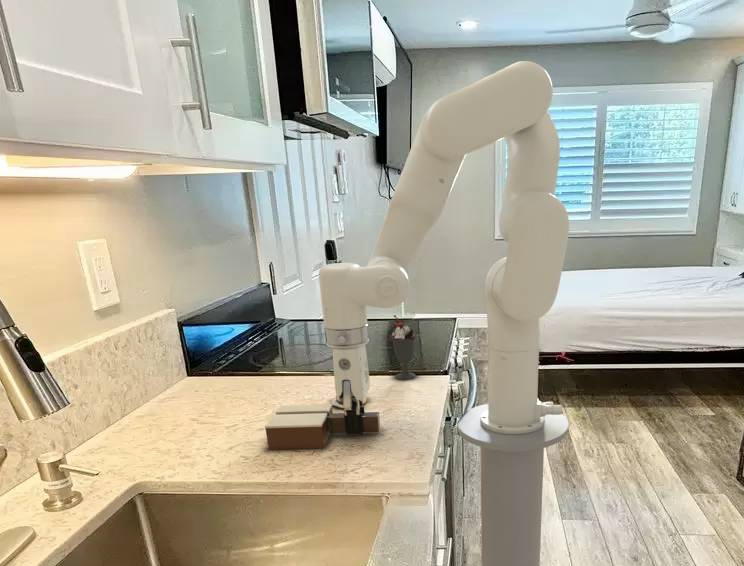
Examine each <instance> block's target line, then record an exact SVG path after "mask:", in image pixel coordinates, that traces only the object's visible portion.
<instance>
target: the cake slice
mask: <svg viewBox="0 0 744 566" xmlns="http://www.w3.org/2000/svg"><path fill="white" fill-rule="evenodd" d="M279 405H280V404H279ZM311 413H327V416H331V414H332V413H334V409H333V405H332V404H331V403H317V404H310V403H309V404H282V405H280V406H279V407H278V408H277V409H276V410H275V415H277V414H311ZM329 433H330V434H331V431H329Z"/></svg>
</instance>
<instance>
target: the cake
mask: <svg viewBox="0 0 744 566" xmlns="http://www.w3.org/2000/svg"><path fill="white" fill-rule="evenodd" d="M264 428H265V436H266V441H267V447H268V450H295V449H296V450H300V449H301V450H302V449H324V448H325V446H326V444H327V442H328V440H329V438H330V436H331V433H329V425H328V417H327V413H311V414H277V415H276V414H273V415H271V418H270V419H269V420H268V421H267V423H266V424H265V426H264Z"/></svg>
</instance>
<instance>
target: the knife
mask: <svg viewBox="0 0 744 566" xmlns="http://www.w3.org/2000/svg"><path fill="white" fill-rule="evenodd" d="M360 413H362V422H363V434H365V433H367V434H370V433H380V429H381V420H380V412H379V411H364V412H360ZM327 417H328V425H329V431H331V433H330V435H331V434H346V429H345V420H344V412H333V413H332V414H331V416H327Z"/></svg>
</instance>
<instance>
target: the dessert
mask: <svg viewBox="0 0 744 566" xmlns="http://www.w3.org/2000/svg"><path fill="white" fill-rule="evenodd" d="M366 403H367V397H366V398H365V399H364V400H363V405H364V404H366ZM330 404H332V406H335V407H337V408H340V409H344V407H343V400H342V401H341V402H340V401H338V400H337V396H336V395H335V397H333V398H332V400H331V402H330Z"/></svg>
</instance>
